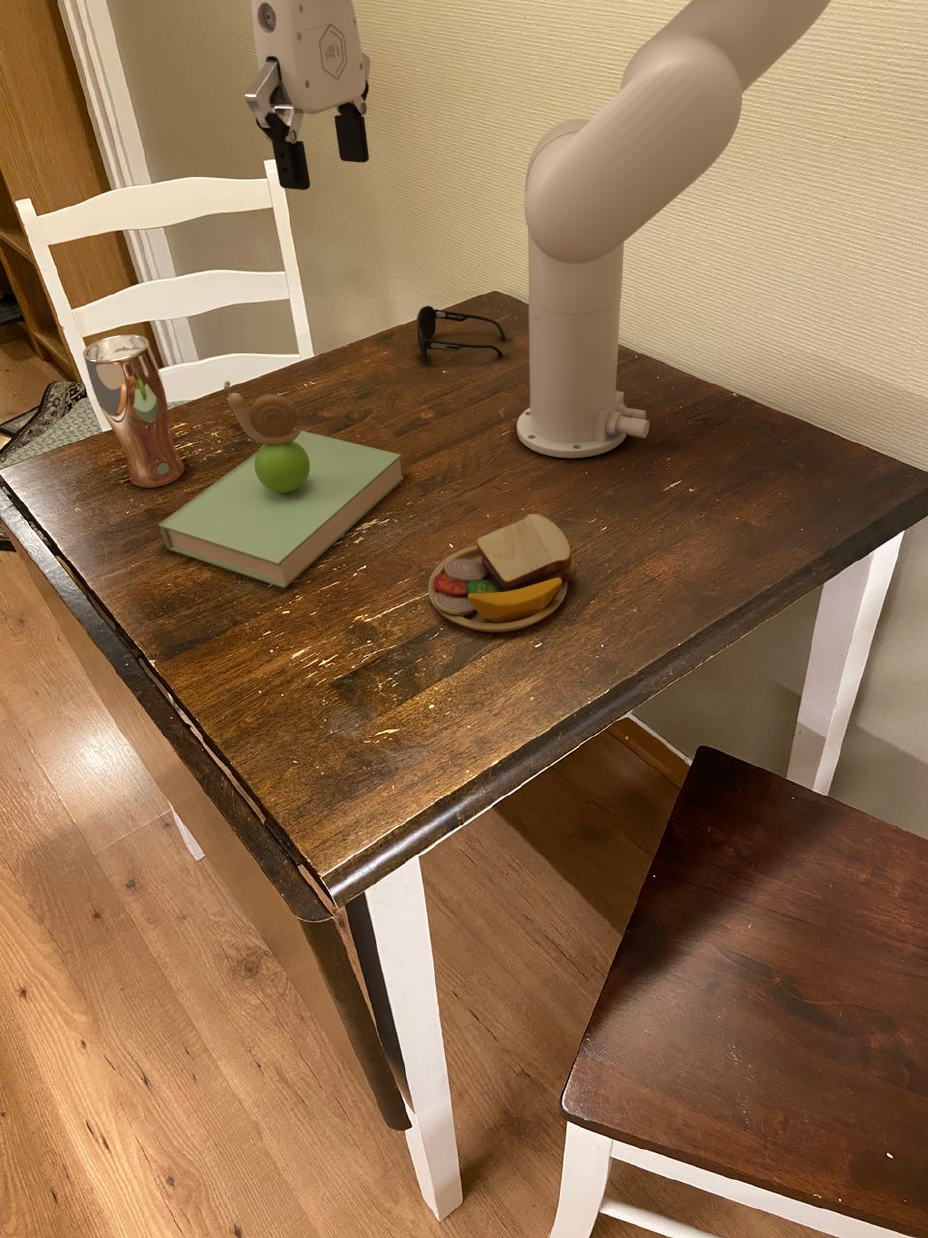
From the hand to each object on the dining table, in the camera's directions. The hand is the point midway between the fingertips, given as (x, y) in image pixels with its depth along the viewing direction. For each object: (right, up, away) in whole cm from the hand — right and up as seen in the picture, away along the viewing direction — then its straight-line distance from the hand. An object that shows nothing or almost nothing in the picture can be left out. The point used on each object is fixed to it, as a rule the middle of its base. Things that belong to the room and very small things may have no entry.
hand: (326, 173), depth 85 cm
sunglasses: (+13, -6, +35) cm, 38 cm away
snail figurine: (-5, -30, +5) cm, 31 cm away
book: (-5, -32, +7) cm, 33 cm away
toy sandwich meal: (+17, -41, -5) cm, 44 cm away
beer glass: (-21, -27, +15) cm, 37 cm away
